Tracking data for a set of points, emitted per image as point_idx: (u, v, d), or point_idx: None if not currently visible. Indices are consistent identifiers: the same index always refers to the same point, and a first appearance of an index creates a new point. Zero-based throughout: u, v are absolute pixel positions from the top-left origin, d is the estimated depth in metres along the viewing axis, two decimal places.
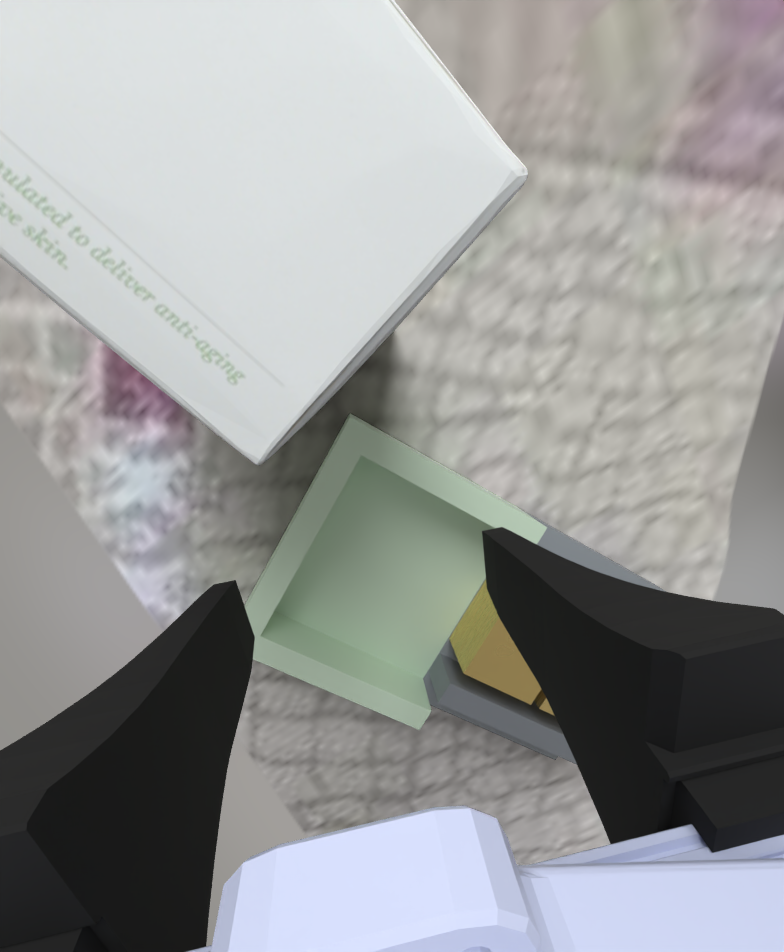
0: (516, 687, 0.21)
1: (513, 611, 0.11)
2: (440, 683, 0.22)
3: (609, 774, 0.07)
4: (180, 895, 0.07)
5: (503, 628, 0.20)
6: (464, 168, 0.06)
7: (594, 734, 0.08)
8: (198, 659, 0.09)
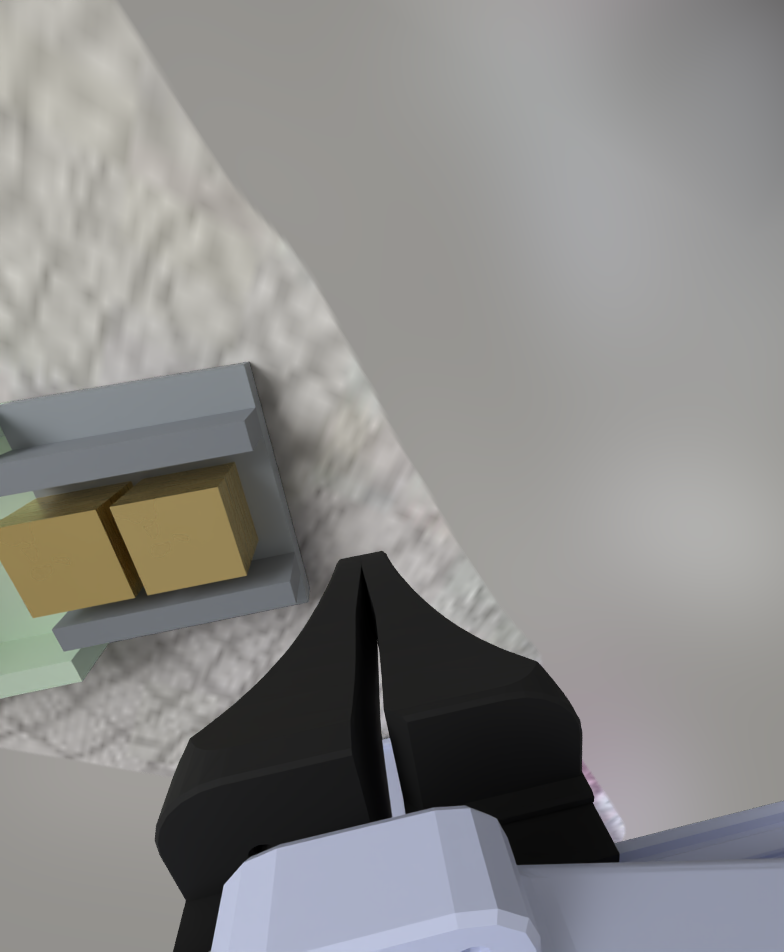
0: (99, 593, 0.17)
1: None
2: None
3: None
4: None
5: (11, 554, 0.16)
6: None
7: None
8: (361, 625, 0.09)
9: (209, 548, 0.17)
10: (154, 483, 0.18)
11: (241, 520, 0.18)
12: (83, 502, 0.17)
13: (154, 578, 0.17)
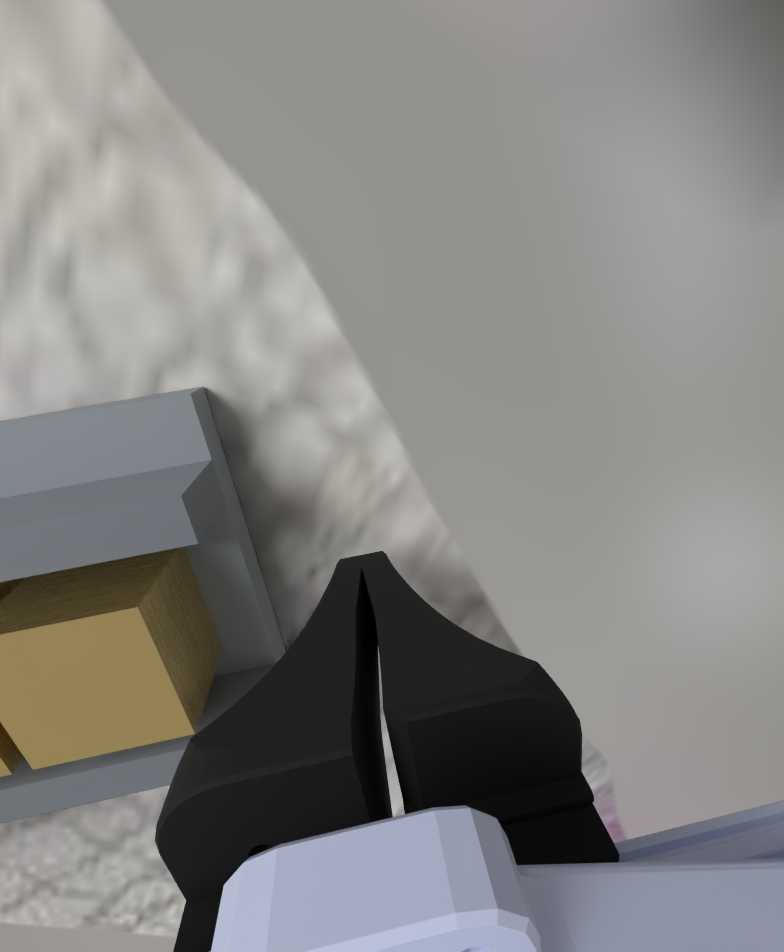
0: None
1: None
2: None
3: None
4: None
5: None
6: None
7: None
8: (361, 625, 0.09)
9: (130, 699, 0.10)
10: (49, 583, 0.11)
11: (189, 636, 0.12)
12: None
13: (41, 745, 0.10)
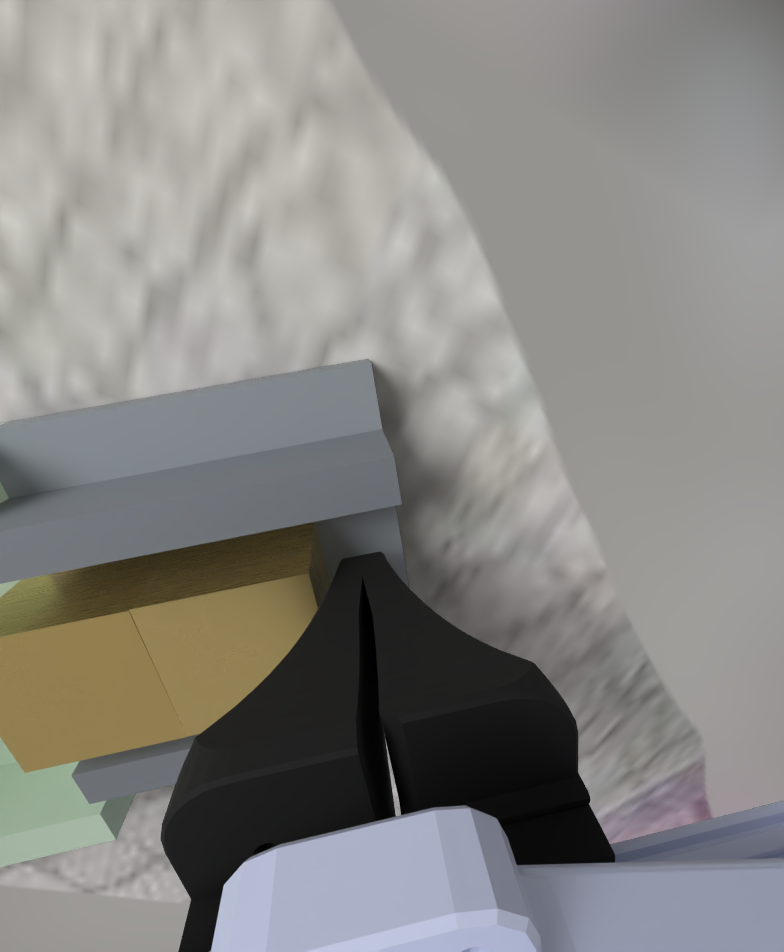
0: (132, 733, 0.11)
1: None
2: None
3: None
4: None
5: None
6: None
7: None
8: (364, 624, 0.09)
9: None
10: (196, 554, 0.11)
11: None
12: (106, 589, 0.10)
13: (198, 712, 0.11)
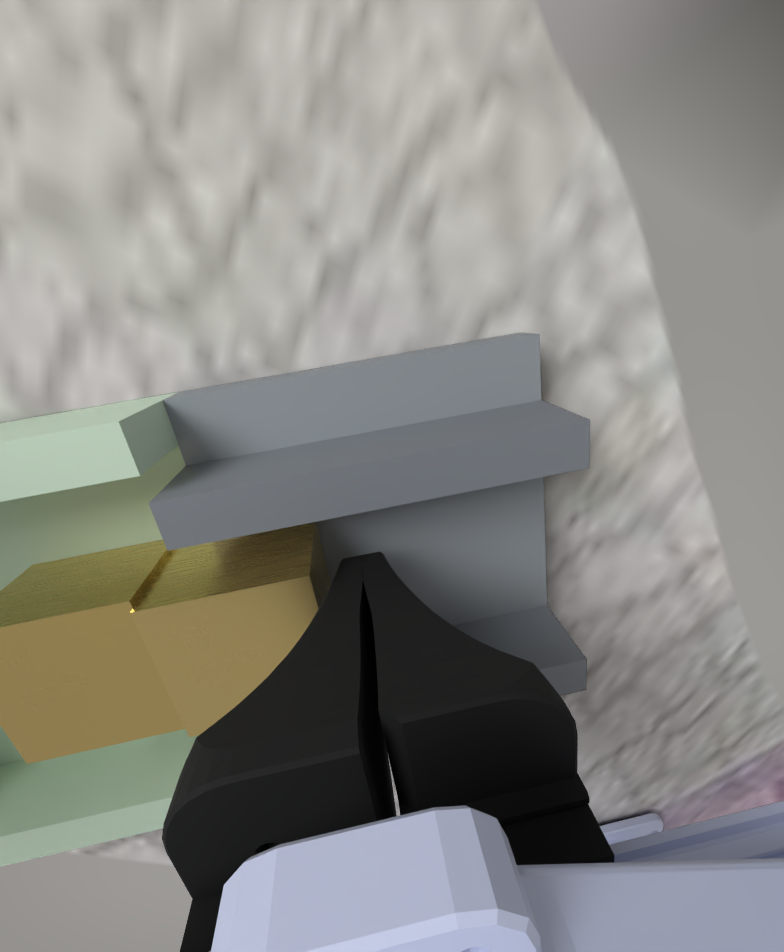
0: (133, 724, 0.11)
1: None
2: None
3: None
4: None
5: None
6: None
7: None
8: (364, 624, 0.09)
9: None
10: (197, 556, 0.11)
11: None
12: (107, 580, 0.11)
13: (200, 713, 0.11)
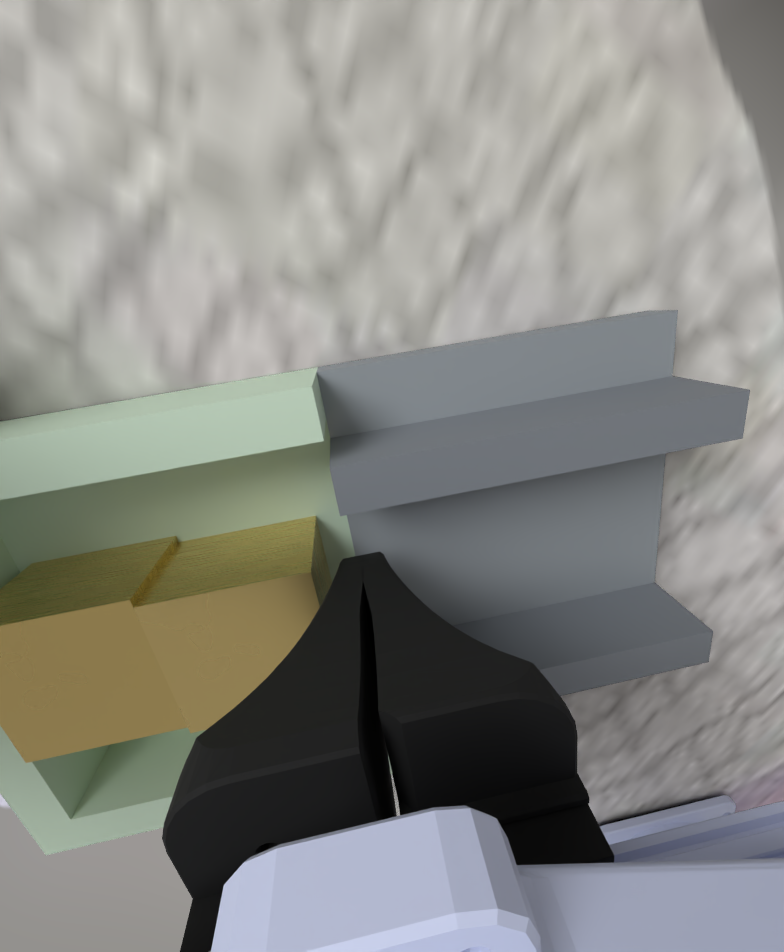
0: (132, 723, 0.11)
1: None
2: None
3: None
4: None
5: None
6: None
7: None
8: (365, 624, 0.09)
9: None
10: (199, 553, 0.12)
11: None
12: (107, 579, 0.11)
13: (202, 709, 0.11)
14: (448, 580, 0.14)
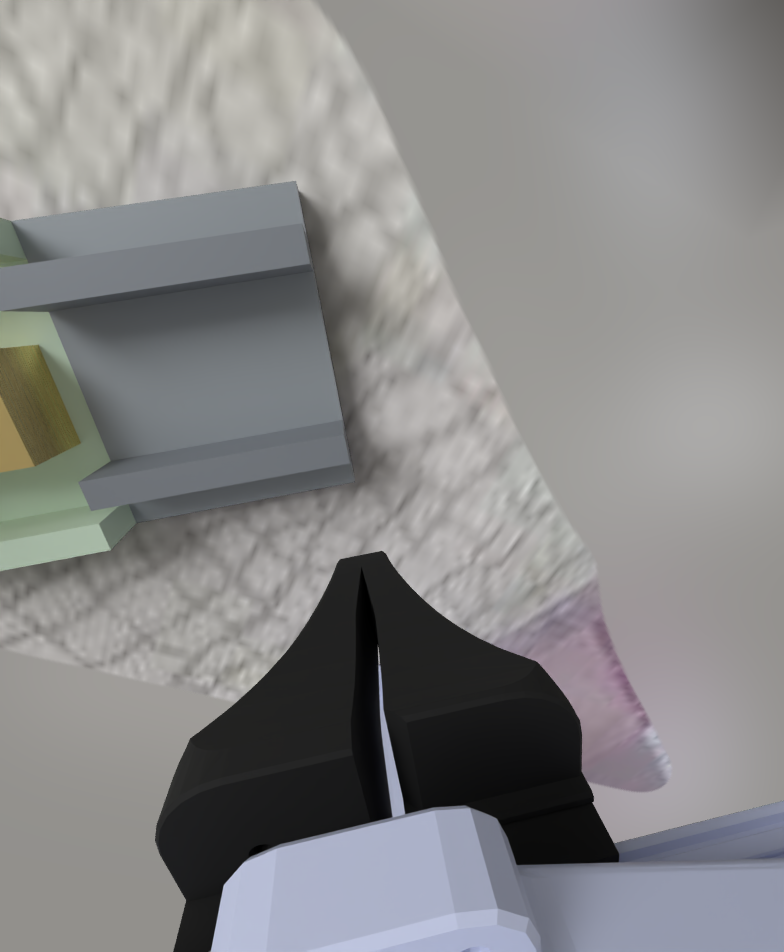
0: None
1: None
2: None
3: None
4: None
5: None
6: None
7: None
8: (361, 625, 0.09)
9: None
10: None
11: (37, 407, 0.16)
12: None
13: None
14: (161, 407, 0.18)
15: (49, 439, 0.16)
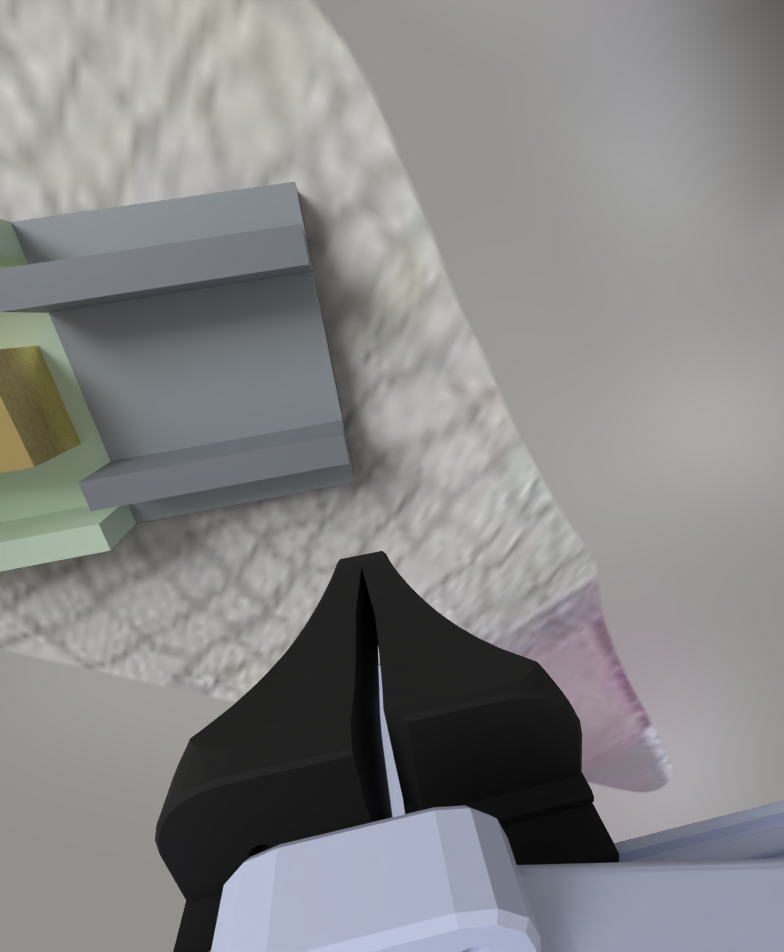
0: None
1: None
2: None
3: None
4: None
5: None
6: None
7: None
8: (361, 625, 0.09)
9: None
10: None
11: (37, 407, 0.16)
12: None
13: None
14: (161, 408, 0.18)
15: (49, 440, 0.16)
